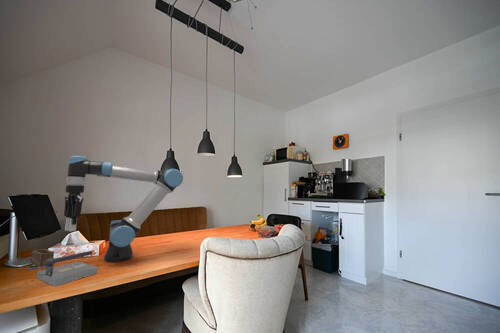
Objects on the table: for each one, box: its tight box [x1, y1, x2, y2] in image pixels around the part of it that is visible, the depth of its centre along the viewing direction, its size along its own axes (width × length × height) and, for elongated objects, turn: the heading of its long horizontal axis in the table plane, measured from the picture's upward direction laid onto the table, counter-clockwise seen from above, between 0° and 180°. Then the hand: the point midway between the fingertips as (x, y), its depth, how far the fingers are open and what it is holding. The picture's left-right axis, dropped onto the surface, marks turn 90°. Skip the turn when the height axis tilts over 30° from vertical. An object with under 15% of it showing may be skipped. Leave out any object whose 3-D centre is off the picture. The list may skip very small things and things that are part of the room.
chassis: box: [35, 260, 99, 287], centre depth 105 cm, size 17×18×7 cm
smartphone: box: [25, 264, 46, 271], centre depth 118 cm, size 8×15×1 cm, turn 29°
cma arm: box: [45, 250, 93, 265], centre depth 105 cm, size 19×3×2 cm, turn 153°
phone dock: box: [30, 248, 55, 267], centre depth 119 cm, size 5×12×7 cm, turn 63°
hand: (70, 230), depth 111 cm, fingers open, 3 cm apart
